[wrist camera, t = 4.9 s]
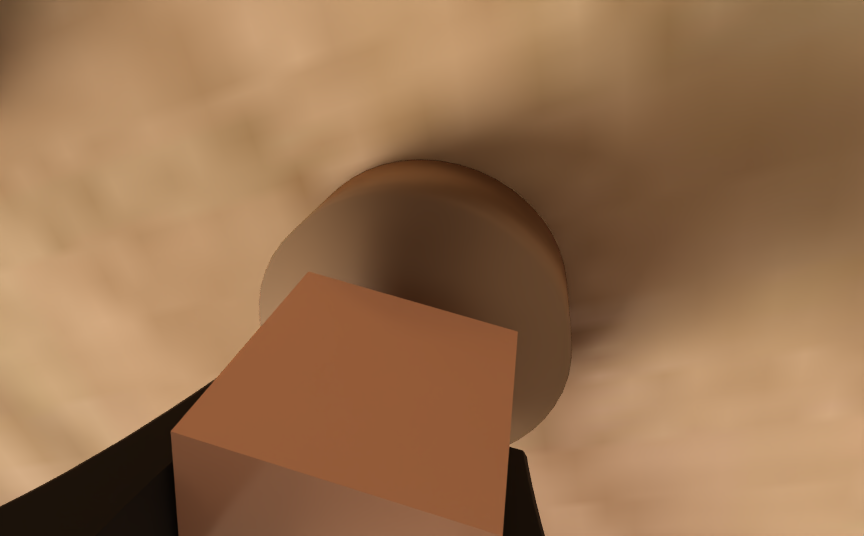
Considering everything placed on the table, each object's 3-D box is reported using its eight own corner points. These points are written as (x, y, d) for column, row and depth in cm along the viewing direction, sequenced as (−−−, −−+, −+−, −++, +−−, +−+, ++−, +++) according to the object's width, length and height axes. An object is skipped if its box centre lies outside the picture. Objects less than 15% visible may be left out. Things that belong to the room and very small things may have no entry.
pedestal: (609, 201, 13) (626, 252, 10) (520, 416, 17) (516, 492, 14) (317, 124, 14) (264, 155, 11) (297, 350, 18) (255, 412, 15)
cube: (517, 331, 10) (502, 536, 6) (465, 474, 12) (429, 690, 9) (308, 271, 11) (170, 431, 7) (293, 420, 13) (183, 607, 9)
